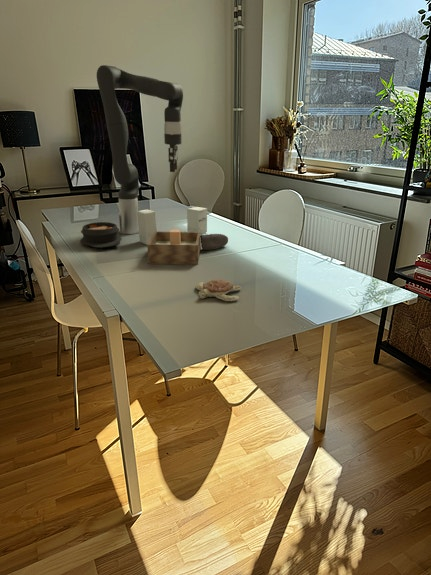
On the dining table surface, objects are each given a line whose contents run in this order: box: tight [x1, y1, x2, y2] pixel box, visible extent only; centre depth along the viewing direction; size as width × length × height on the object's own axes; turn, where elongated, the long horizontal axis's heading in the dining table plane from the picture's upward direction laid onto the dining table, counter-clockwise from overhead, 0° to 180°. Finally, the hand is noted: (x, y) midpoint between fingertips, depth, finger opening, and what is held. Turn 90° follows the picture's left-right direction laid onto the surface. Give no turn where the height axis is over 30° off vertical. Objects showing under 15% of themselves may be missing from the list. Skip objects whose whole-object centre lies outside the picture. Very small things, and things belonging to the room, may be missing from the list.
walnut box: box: [146, 230, 201, 265], centre depth 176 cm, size 20×20×8 cm
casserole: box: [80, 221, 123, 249], centre depth 193 cm, size 25×19×8 cm
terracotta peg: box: [169, 229, 181, 244], centre depth 176 cm, size 4×4×10 cm
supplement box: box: [186, 206, 208, 235], centre depth 211 cm, size 7×7×13 cm
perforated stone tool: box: [200, 233, 229, 251], centre depth 188 cm, size 15×5×7 cm, turn 120°
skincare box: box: [137, 208, 158, 246], centre depth 194 cm, size 8×6×15 cm
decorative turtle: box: [195, 279, 242, 302], centre depth 141 cm, size 18×17×5 cm
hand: (173, 170), depth 191 cm, fingers open, 8 cm apart
